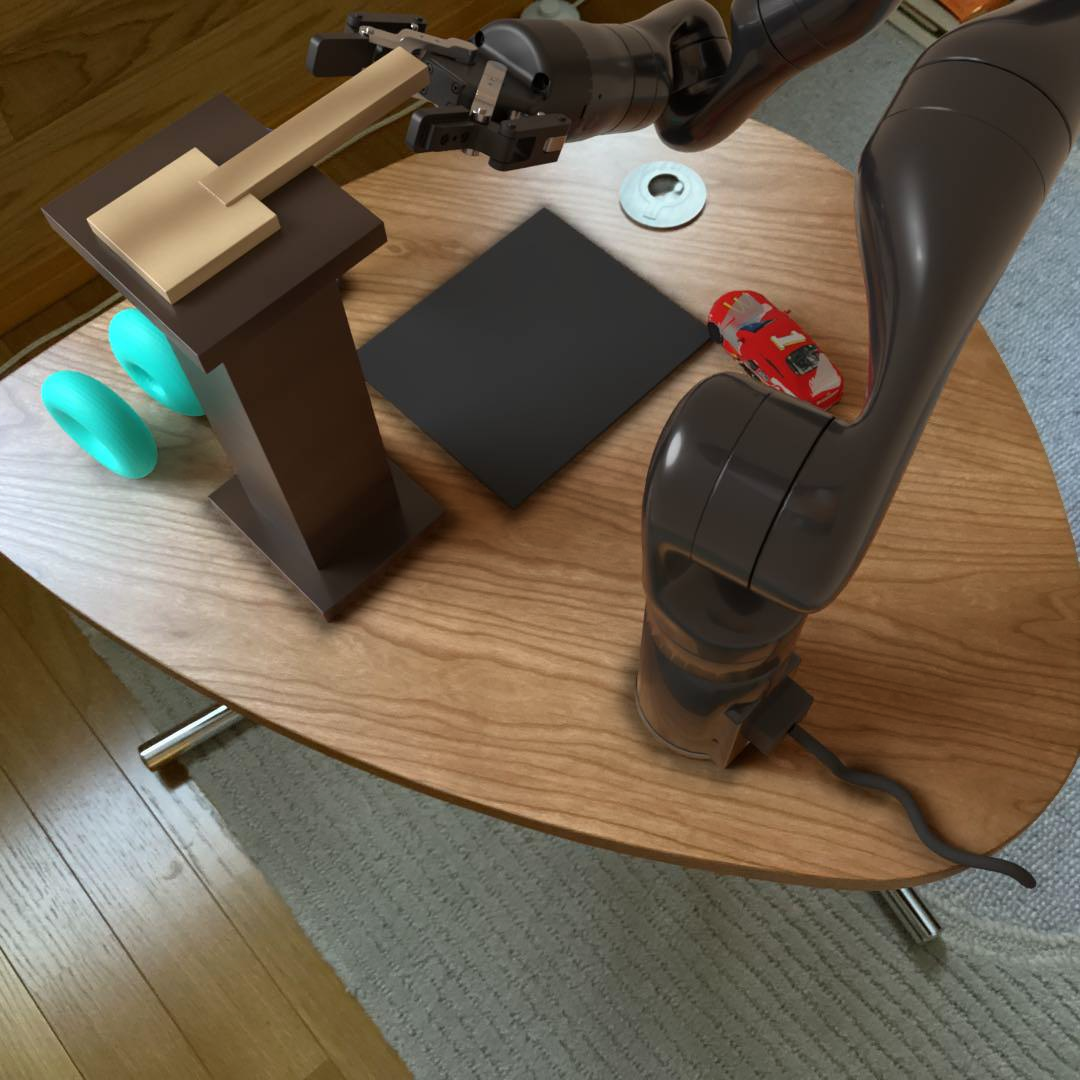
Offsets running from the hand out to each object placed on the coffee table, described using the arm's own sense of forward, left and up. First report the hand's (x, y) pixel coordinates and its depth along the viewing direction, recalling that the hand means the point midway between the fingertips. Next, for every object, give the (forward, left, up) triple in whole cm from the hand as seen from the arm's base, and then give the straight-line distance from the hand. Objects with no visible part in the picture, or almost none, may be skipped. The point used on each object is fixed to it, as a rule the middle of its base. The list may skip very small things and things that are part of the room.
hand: (361, 92), depth 63 cm
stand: (0, +11, -33) cm, 35 cm away
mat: (0, -11, -33) cm, 35 cm away
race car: (-15, -23, -33) cm, 43 cm away
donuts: (+16, +16, -33) cm, 40 cm away
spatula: (0, +6, -1) cm, 6 cm away
